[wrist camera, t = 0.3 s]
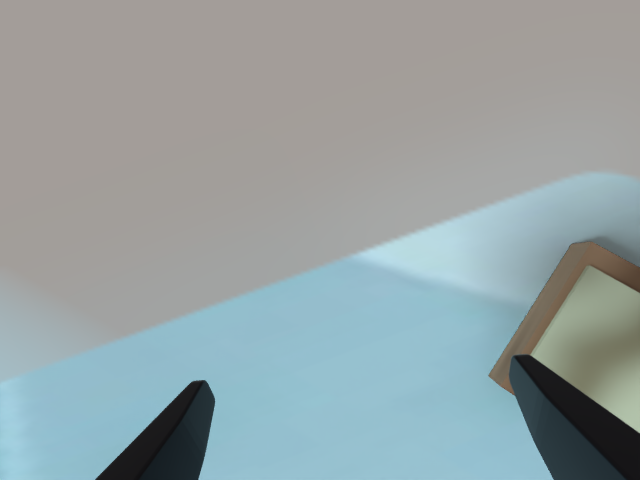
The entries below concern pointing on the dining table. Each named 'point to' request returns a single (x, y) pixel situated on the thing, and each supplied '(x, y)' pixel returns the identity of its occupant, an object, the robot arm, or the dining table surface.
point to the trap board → (586, 330)
